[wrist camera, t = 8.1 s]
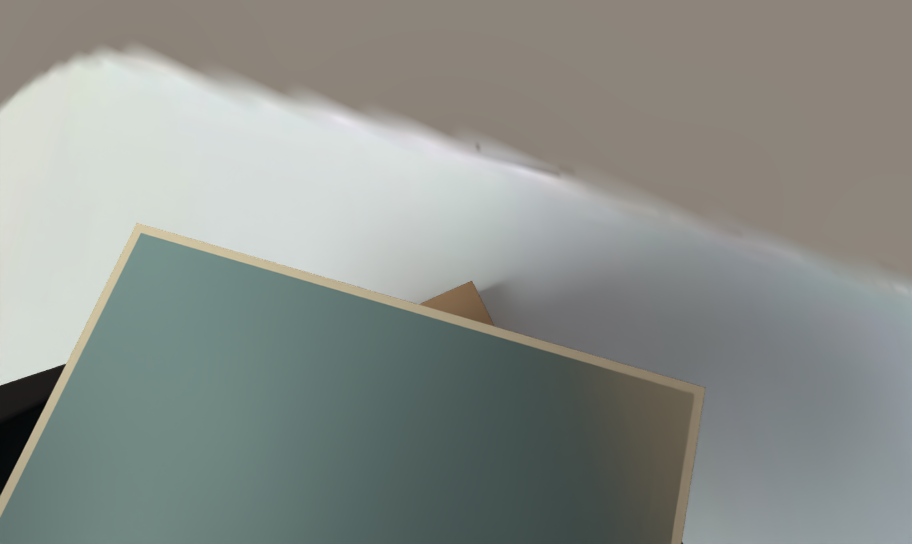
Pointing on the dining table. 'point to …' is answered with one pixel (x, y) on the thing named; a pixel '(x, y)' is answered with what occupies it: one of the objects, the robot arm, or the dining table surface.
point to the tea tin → (336, 421)
